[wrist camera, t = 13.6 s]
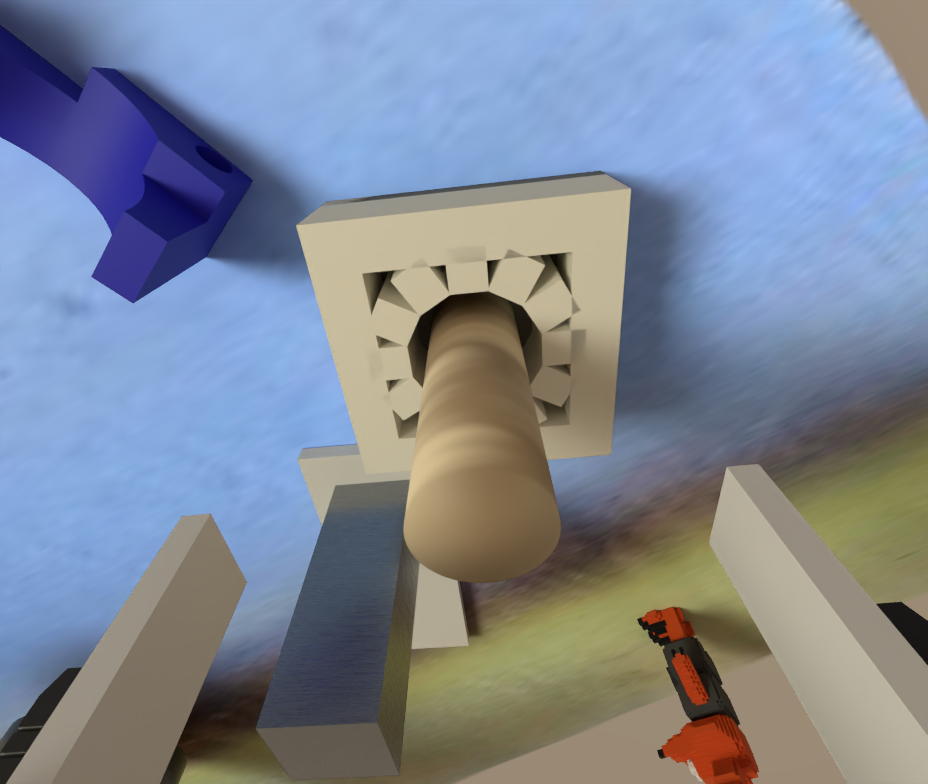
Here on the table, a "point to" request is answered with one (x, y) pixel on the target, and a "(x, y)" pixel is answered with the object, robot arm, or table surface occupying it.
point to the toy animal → (700, 706)
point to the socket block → (468, 271)
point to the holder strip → (436, 594)
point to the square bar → (348, 644)
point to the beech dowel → (479, 451)
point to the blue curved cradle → (121, 165)
